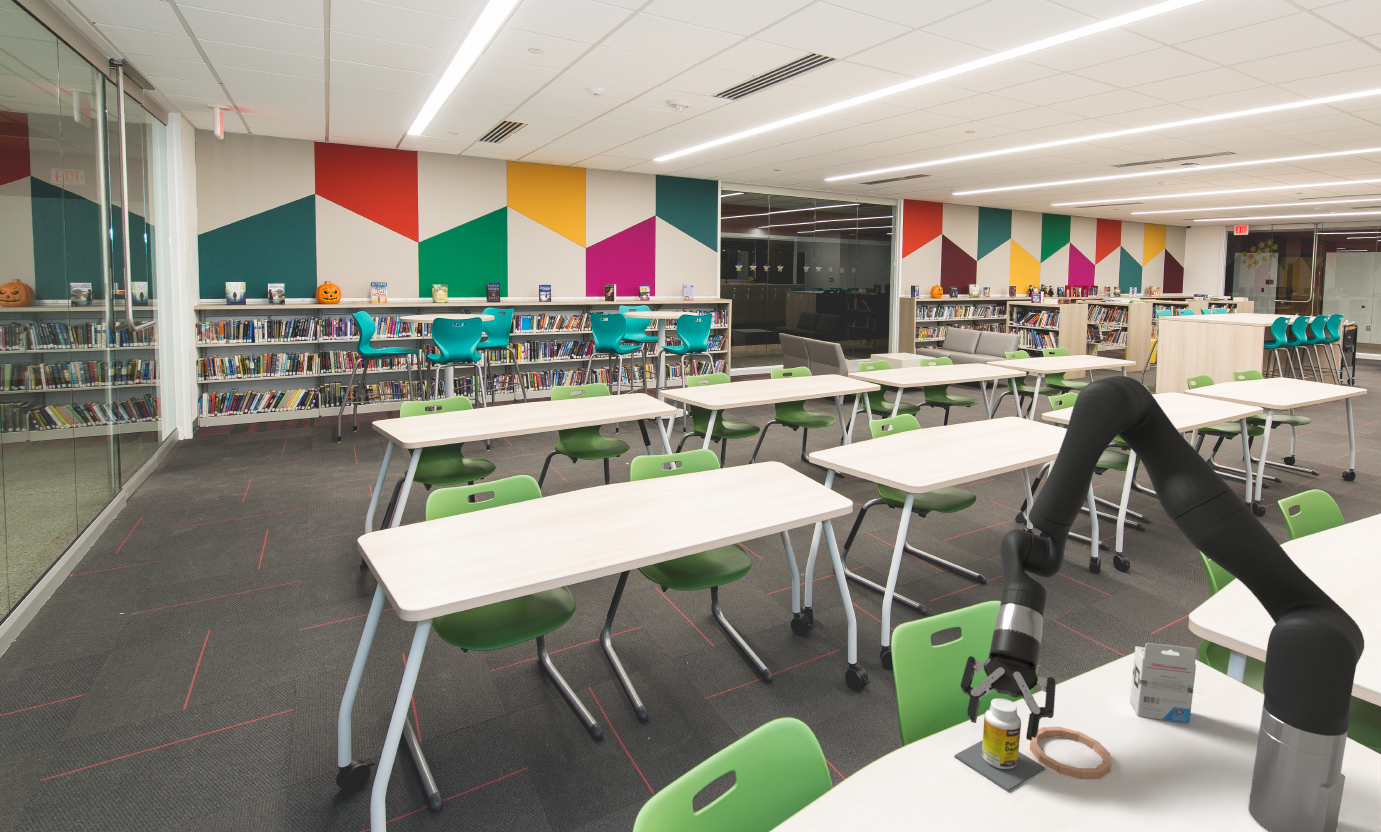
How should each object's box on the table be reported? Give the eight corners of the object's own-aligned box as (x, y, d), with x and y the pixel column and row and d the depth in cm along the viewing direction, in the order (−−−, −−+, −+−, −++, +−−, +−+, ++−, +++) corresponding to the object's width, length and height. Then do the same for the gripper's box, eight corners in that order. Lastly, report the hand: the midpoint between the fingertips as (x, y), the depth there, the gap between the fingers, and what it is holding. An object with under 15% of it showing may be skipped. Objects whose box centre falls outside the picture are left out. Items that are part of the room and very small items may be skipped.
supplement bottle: (1004, 775, 113) (1009, 718, 111) (974, 757, 117) (978, 701, 116) (1024, 763, 116) (1029, 707, 114) (994, 745, 120) (998, 691, 119)
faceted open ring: (1124, 761, 117) (1125, 755, 116) (1084, 788, 110) (1085, 781, 110) (1055, 725, 127) (1056, 719, 126) (1015, 747, 120) (1015, 741, 120)
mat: (1045, 769, 115) (1045, 767, 115) (1007, 791, 110) (1008, 789, 110) (991, 737, 123) (991, 735, 123) (954, 757, 118) (954, 754, 118)
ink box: (1180, 709, 131) (1188, 636, 129) (1190, 724, 127) (1199, 649, 124) (1128, 702, 134) (1136, 630, 131) (1136, 716, 129) (1144, 642, 127)
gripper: (971, 618, 123) (952, 709, 116) (1062, 639, 115) (1048, 738, 108) (975, 634, 128) (957, 722, 121) (1062, 655, 121) (1049, 751, 113)
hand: (1000, 730), depth 114 cm, fingers open, 8 cm apart
